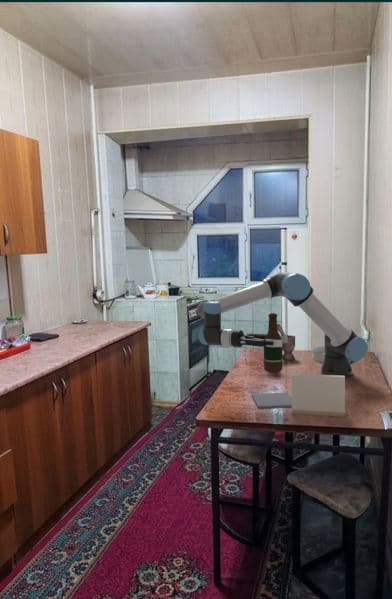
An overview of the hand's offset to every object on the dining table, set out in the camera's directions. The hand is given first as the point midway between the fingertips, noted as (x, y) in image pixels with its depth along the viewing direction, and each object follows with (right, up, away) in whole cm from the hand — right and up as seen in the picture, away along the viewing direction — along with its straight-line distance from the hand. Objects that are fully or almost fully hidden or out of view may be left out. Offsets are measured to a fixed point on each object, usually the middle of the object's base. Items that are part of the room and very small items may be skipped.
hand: (284, 341), depth 189 cm
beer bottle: (-4, -12, +4) cm, 14 cm away
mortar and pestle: (+15, -17, +77) cm, 81 cm away
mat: (-4, -26, +5) cm, 26 cm away
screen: (+11, -27, -10) cm, 31 cm away
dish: (+42, -17, +73) cm, 86 cm away
